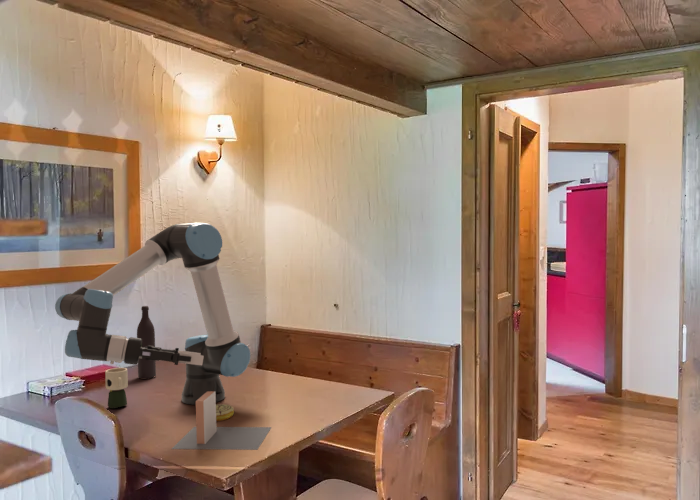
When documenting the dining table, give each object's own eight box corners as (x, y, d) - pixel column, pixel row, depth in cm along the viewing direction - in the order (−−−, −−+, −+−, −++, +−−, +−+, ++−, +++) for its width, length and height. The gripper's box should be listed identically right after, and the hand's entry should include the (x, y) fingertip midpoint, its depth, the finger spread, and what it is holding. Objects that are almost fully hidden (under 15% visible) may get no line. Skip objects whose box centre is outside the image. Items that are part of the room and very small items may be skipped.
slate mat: (194, 428, 176) (194, 426, 176) (271, 429, 174) (271, 427, 174) (171, 450, 158) (171, 448, 158) (257, 451, 156) (257, 449, 156)
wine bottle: (143, 375, 245) (141, 305, 244) (159, 375, 244) (156, 305, 243) (134, 379, 238) (132, 307, 237) (151, 379, 237) (148, 307, 236)
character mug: (103, 405, 202) (102, 368, 202) (124, 401, 206) (123, 365, 206) (110, 412, 193) (108, 374, 193) (132, 408, 197) (130, 371, 197)
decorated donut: (211, 412, 192) (211, 401, 192) (239, 415, 189) (239, 403, 189) (193, 422, 182) (193, 410, 182) (223, 425, 179) (222, 413, 179)
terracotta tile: (208, 431, 171) (207, 391, 171) (216, 431, 171) (215, 391, 171) (196, 443, 161) (195, 401, 161) (205, 443, 161) (204, 401, 161)
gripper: (125, 360, 174) (196, 368, 181) (119, 366, 151) (201, 375, 157) (130, 335, 176) (200, 344, 182) (125, 338, 152) (206, 348, 158)
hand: (201, 359), depth 169 cm, fingers open, 13 cm apart
